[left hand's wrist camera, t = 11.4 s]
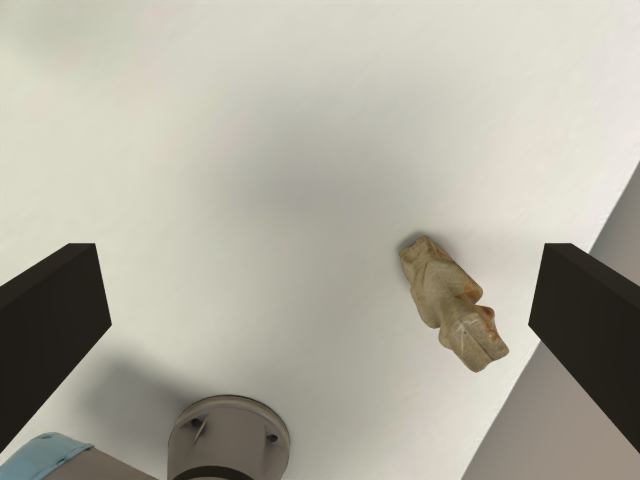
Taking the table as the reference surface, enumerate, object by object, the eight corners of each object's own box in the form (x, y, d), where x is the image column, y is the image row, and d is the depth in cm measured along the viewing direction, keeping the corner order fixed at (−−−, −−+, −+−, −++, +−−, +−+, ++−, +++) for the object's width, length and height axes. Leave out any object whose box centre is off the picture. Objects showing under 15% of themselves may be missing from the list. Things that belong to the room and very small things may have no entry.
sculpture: (418, 298, 46) (461, 391, 32) (384, 249, 44) (415, 326, 30) (464, 271, 45) (529, 355, 31) (432, 220, 43) (486, 285, 29)
